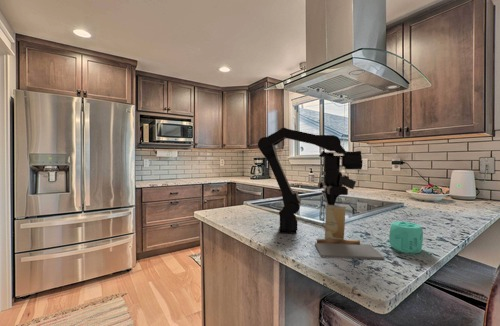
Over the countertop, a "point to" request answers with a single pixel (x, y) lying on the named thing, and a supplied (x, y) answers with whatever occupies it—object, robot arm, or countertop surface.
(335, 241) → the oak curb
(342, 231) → the skincare box
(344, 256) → the rubber mat
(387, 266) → the countertop surface
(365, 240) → the countertop surface
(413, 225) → the decorative dice
